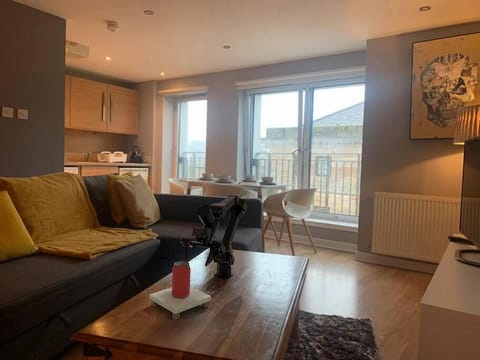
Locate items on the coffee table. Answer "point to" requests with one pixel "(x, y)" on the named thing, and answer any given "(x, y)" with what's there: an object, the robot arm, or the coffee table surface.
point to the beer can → (181, 279)
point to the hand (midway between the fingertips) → (195, 264)
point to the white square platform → (179, 301)
